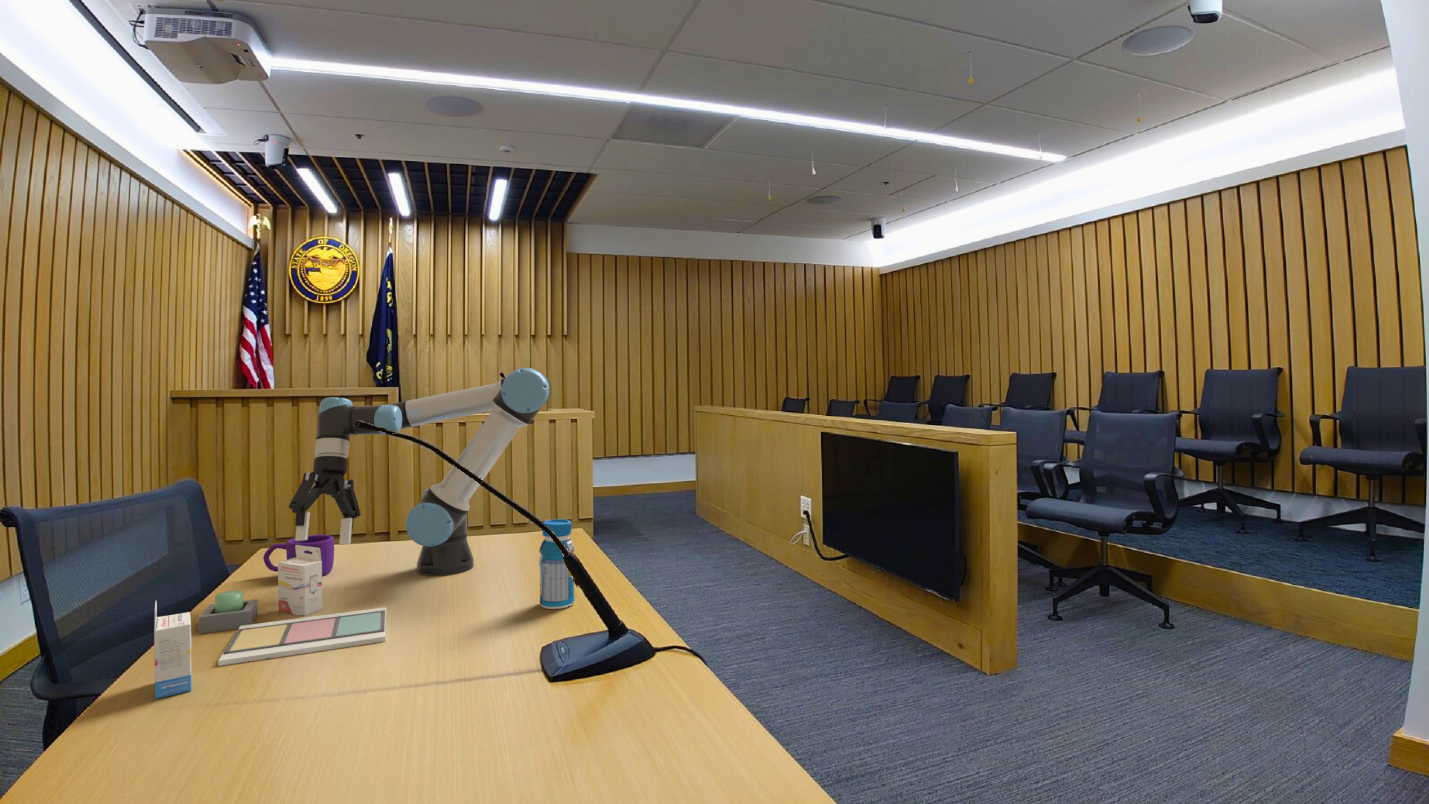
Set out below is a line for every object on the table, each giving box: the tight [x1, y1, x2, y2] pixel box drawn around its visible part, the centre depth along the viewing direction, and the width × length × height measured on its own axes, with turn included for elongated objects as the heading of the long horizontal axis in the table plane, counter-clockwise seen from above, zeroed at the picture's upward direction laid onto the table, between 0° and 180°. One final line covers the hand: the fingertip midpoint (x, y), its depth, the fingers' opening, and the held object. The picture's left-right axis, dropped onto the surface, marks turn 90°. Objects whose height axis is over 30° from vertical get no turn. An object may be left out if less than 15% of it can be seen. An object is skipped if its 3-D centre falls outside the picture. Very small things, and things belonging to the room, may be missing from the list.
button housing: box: [198, 598, 259, 635], centre depth 147 cm, size 9×9×4 cm
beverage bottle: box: [538, 518, 576, 610], centre depth 160 cm, size 8×8×20 cm
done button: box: [214, 590, 244, 613], centre depth 147 cm, size 5×5×5 cm
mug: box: [262, 534, 335, 577], centre depth 184 cm, size 17×11×10 cm, turn 103°
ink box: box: [153, 600, 192, 700], centre depth 116 cm, size 8×5×15 cm, turn 39°
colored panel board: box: [217, 606, 387, 667], centre depth 140 cm, size 28×20×1 cm
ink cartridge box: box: [277, 545, 323, 617], centre depth 155 cm, size 9×5×15 cm, turn 71°
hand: (323, 542), depth 164 cm, fingers open, 13 cm apart
